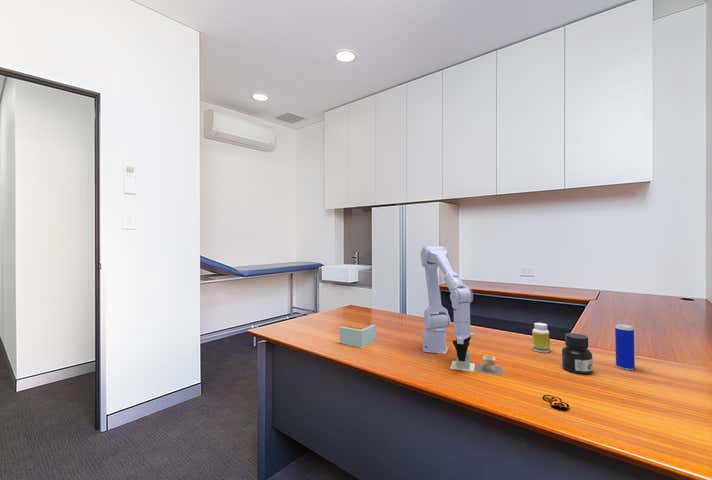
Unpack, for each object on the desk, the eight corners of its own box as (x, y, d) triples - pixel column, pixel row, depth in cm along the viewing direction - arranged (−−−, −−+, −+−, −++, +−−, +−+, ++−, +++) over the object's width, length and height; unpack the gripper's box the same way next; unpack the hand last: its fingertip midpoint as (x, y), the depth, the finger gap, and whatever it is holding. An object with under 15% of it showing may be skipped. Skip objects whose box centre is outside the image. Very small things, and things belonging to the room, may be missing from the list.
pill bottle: (552, 353, 130) (551, 326, 130) (535, 352, 132) (535, 325, 132) (546, 348, 136) (546, 322, 137) (530, 347, 138) (530, 321, 138)
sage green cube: (456, 367, 117) (455, 355, 117) (457, 363, 121) (457, 351, 121) (469, 369, 115) (469, 356, 115) (469, 364, 119) (469, 352, 119)
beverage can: (630, 365, 117) (629, 324, 117) (637, 371, 112) (636, 328, 112) (613, 364, 118) (612, 323, 118) (619, 369, 113) (618, 327, 113)
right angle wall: (375, 340, 151) (375, 324, 151) (361, 348, 141) (361, 330, 141) (354, 336, 158) (354, 321, 158) (339, 343, 148) (339, 327, 148)
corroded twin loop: (556, 412, 87) (556, 408, 87) (538, 398, 95) (538, 394, 95) (574, 411, 87) (574, 407, 87) (554, 397, 95) (554, 394, 95)
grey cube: (483, 370, 113) (482, 359, 113) (483, 366, 117) (483, 355, 117) (495, 372, 112) (495, 360, 112) (495, 368, 115) (495, 356, 115)
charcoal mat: (476, 373, 112) (476, 372, 112) (477, 365, 120) (477, 363, 120) (501, 377, 109) (501, 375, 109) (501, 368, 116) (501, 366, 116)
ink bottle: (582, 377, 108) (582, 341, 108) (556, 368, 116) (555, 334, 116) (598, 371, 112) (597, 336, 112) (571, 363, 120) (571, 330, 120)
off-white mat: (450, 369, 116) (450, 368, 116) (452, 362, 123) (452, 360, 123) (473, 373, 113) (473, 371, 113) (475, 364, 120) (474, 363, 120)
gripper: (472, 326, 110) (472, 366, 110) (474, 317, 123) (475, 352, 123) (450, 324, 112) (451, 363, 112) (455, 315, 126) (456, 350, 126)
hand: (462, 357), depth 118 cm, fingers open, 6 cm apart
